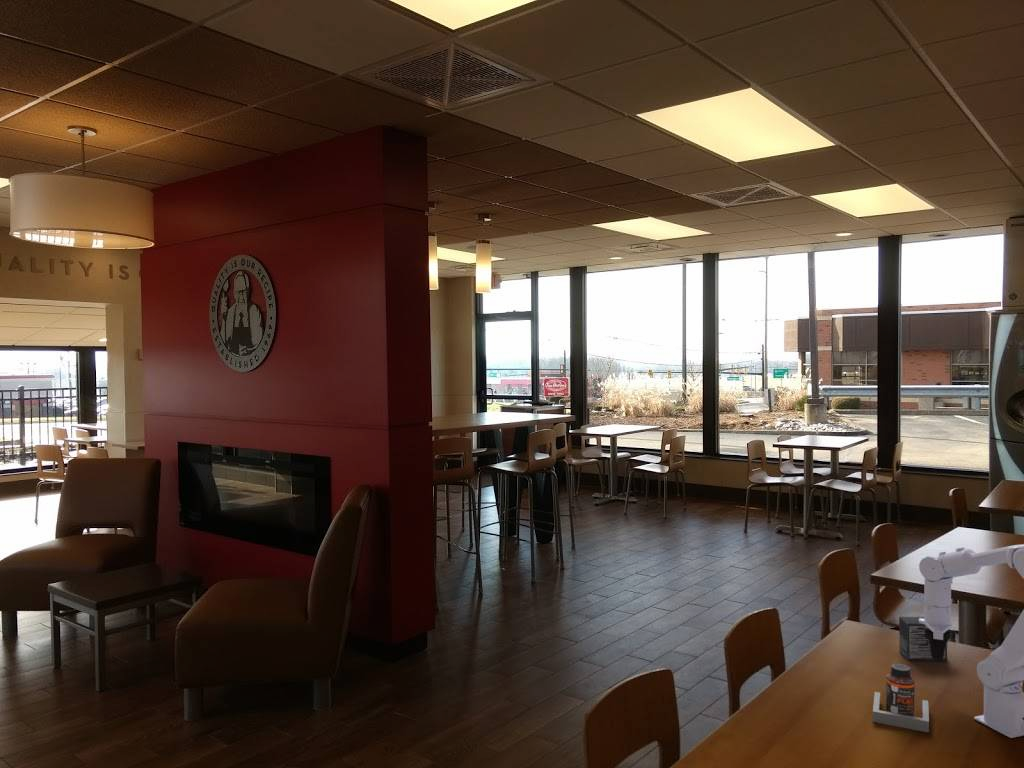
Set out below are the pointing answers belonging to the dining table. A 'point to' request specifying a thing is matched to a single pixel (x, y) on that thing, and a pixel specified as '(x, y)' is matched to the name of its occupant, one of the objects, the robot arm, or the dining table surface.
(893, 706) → the supplement bottle
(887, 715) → the grey u-shaped bracket
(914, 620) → the small box
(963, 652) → the dining table surface
